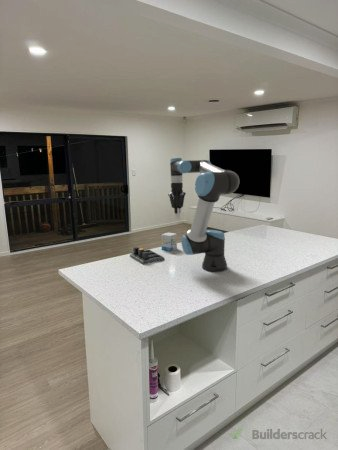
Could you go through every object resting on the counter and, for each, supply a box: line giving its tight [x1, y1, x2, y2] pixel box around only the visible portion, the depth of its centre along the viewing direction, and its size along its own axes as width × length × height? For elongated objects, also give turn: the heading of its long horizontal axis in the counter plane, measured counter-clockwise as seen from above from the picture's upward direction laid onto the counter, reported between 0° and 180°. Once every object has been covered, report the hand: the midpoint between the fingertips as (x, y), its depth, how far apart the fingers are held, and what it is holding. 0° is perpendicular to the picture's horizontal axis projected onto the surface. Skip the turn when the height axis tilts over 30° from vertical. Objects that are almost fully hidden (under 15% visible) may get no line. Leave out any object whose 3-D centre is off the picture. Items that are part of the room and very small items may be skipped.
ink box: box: [161, 232, 178, 252], centre depth 234 cm, size 9×8×12 cm
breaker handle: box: [138, 248, 145, 257], centre depth 212 cm, size 3×3×5 cm
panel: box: [129, 246, 166, 265], centre depth 214 cm, size 20×16×6 cm
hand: (177, 218), depth 209 cm, fingers closed
